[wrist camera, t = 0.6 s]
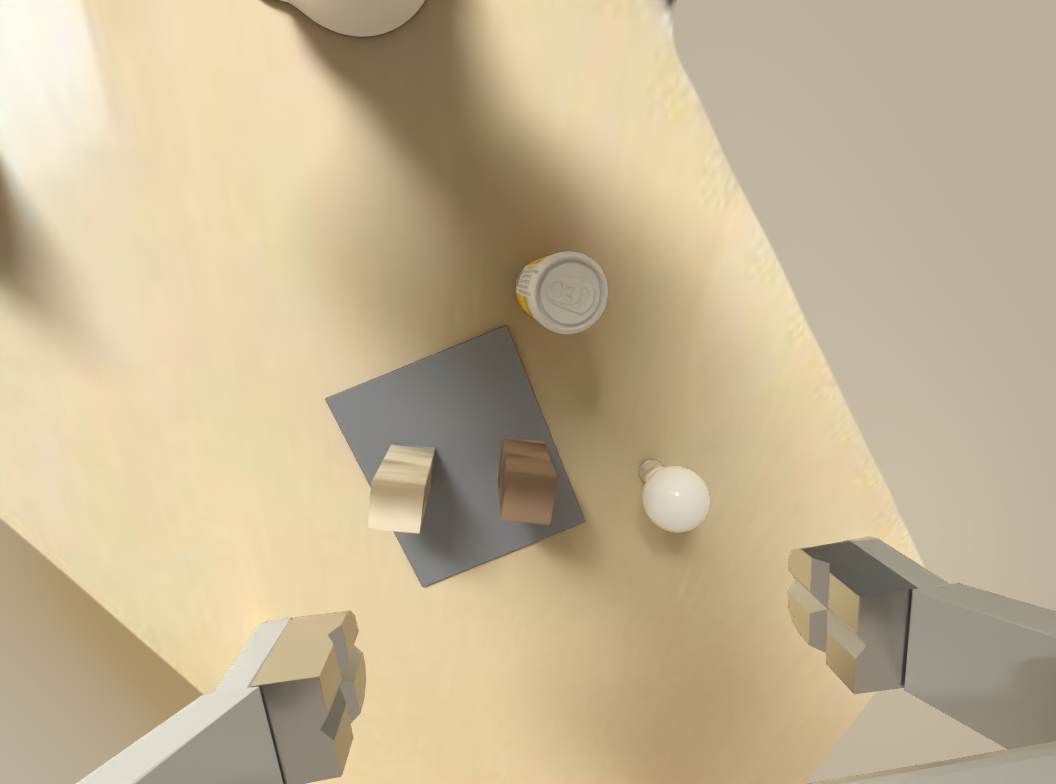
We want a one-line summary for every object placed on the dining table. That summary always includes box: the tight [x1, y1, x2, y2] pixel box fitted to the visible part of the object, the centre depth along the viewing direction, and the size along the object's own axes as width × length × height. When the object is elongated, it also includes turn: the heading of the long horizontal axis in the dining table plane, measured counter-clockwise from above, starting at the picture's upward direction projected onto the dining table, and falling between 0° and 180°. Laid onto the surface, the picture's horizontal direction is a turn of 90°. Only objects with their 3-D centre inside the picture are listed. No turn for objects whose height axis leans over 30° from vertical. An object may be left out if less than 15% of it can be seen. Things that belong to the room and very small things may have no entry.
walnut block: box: [497, 437, 558, 525], centre depth 49 cm, size 5×4×10 cm
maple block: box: [368, 443, 435, 533], centre depth 48 cm, size 4×4×10 cm
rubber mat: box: [325, 326, 585, 587], centre depth 53 cm, size 24×20×1 cm
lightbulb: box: [639, 459, 710, 532], centre depth 50 cm, size 6×6×11 cm
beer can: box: [516, 251, 608, 334], centre depth 43 cm, size 6×6×15 cm
